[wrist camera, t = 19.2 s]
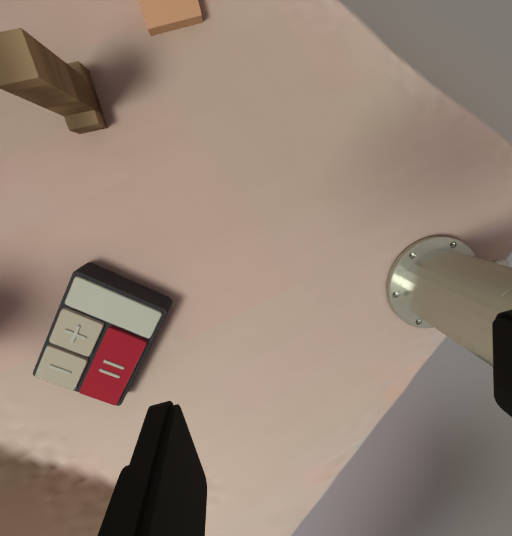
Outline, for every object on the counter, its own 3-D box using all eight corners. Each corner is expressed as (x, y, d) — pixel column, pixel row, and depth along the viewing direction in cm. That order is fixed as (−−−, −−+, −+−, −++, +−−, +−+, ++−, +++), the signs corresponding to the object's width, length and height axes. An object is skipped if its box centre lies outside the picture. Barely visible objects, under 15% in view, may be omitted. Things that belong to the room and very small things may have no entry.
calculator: (27, 380, 36) (70, 271, 33) (47, 358, 41) (88, 260, 37) (117, 411, 39) (167, 313, 35) (128, 388, 43) (173, 298, 39)
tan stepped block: (88, 70, 32) (12, 5, 20) (107, 128, 34) (46, 97, 22) (59, 76, 32) (-34, 14, 20) (79, 134, 33) (3, 106, 22)
